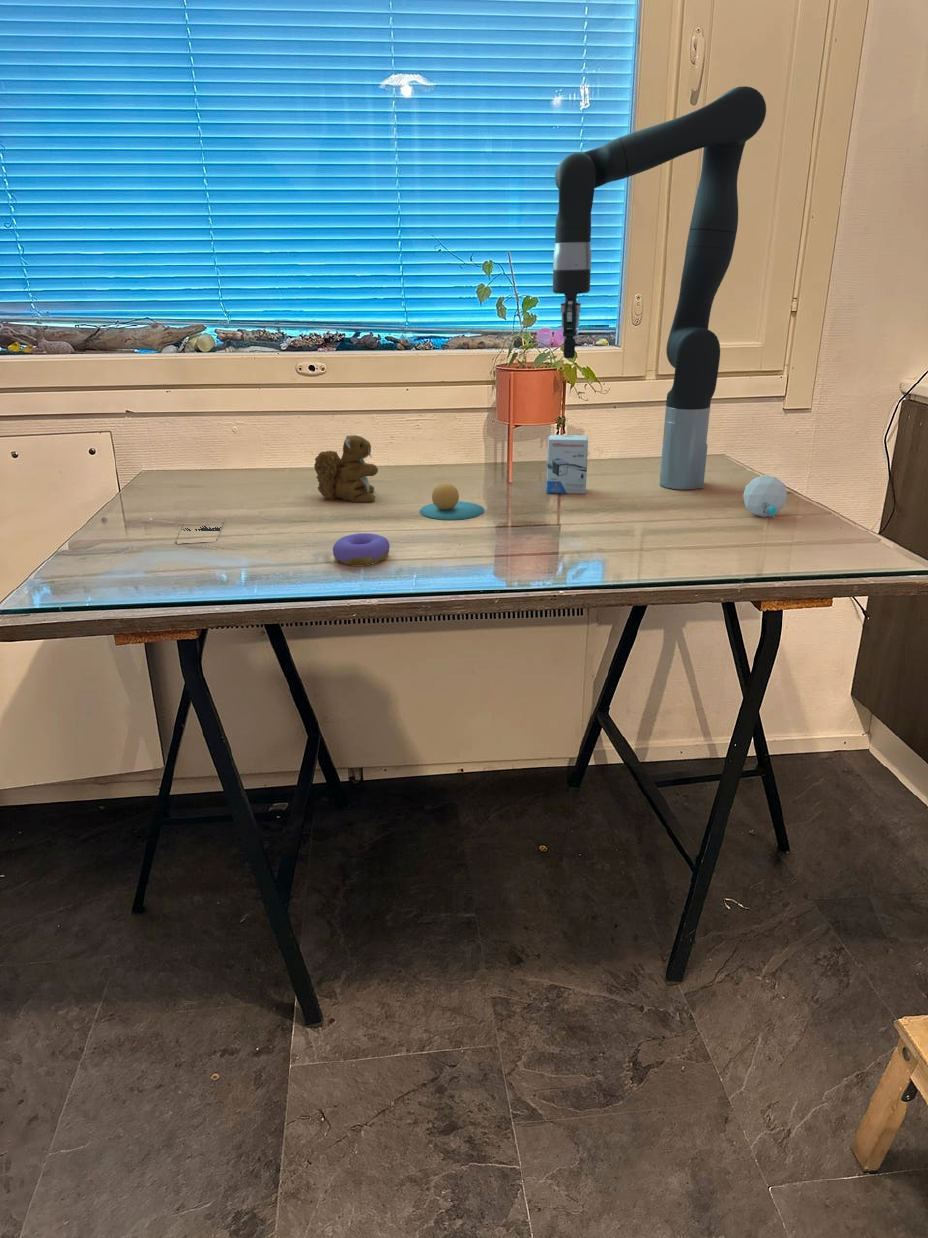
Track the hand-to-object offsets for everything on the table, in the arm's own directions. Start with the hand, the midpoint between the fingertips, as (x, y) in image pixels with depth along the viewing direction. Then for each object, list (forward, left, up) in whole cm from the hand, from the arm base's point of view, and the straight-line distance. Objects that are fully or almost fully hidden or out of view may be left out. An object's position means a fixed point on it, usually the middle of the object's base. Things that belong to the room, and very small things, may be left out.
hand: (569, 357), depth 170 cm
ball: (+23, +21, -25) cm, 40 cm away
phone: (+67, +41, -28) cm, 83 cm away
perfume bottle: (-39, +19, -28) cm, 52 cm away
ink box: (0, +3, -28) cm, 28 cm away
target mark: (+22, +22, -28) cm, 41 cm away
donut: (+32, +52, -28) cm, 67 cm away
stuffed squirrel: (+46, +14, -28) cm, 56 cm away
